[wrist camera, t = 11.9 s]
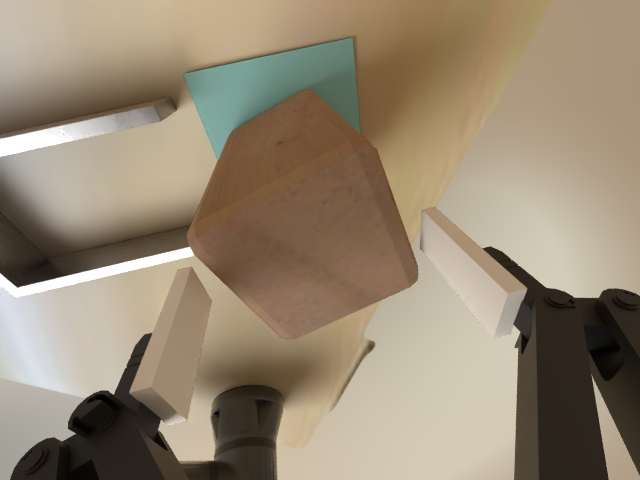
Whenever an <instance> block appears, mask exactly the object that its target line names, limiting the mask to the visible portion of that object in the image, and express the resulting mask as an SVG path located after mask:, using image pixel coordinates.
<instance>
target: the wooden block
mask: <svg viewBox="0 0 640 480" xmlns="http://www.w3.org/2000/svg"><path fill="white" fill-rule="evenodd" d="M187 240H188V244H189V246H190V248H191V250H192V251H193V253H194V255H195V256H196V257H197V258H199V259H200V260H201V261H202V262H203V263H204V264H205V265H206V266H207V267H208V268H209V269H210V270H211V271H212V272H213V273H214V274H215V275H216V276H217V277H218V278H219V279H220V280H221V281H222V282H223V283H224V284H226V285H227V286H228V287H229V288H230V289H231V290H232V291H233V292H234V293H235V294H236V295H237V296H238V297H239V298H240V299H241V300H242V301H243V302H244V303H245V304H246V305H247V306H248V307H249V308H250V309H252V310H253V311H254V312H255V313H256V314H257V315H258V316H259V317H260V318H261V319H262V320H263V321H264V322H265V323H266V324H267V325H268V326H269V327H270V328H271V329H272V330H273V331H274V332H275V333H276V334H278V335H279V336H280V337H281V338H284V339H296V338H298V337H300V336H302V335H305V334H307V333H309V332H311V331H314V330H316V329H318V328H320V327H322V326H325V325H327V324H329V323H331V322H334V321H336V320H338V319H340V318H342V317H345V316H347V315H349V314H351V313H354V312H356V311H358V310H360V309H362V308H365V307H367V306H369V305H371V304H374V303H376V302H378V301H380V300H383V299H385V298H387V297H389V296H391V295H394V294H396V293H398V292H400V291H402V290H405V289H407V288H409V287H411V286H412V285H413V284H414V283H415V282H416V281H417V280H418V265H417V262H416V260H415V257H414V254H413V251H412V248H411V245H410V243H409V240H408V237H407V234H406V231H405V228H404V225H403V223H402V220H401V217H400V214H399V211H398V208H397V206H396V203H395V200H394V197H393V194H392V191H391V188H390V186H389V183H388V180H387V177H386V174H385V171H384V169H383V166H382V163H381V160H380V157H379V154H378V152H377V149H376V148H375V147H373V146H372V145H371V144H370V143H369V142H368V141H367V140H366V139H365V138H364V137H363V136H362V135H361V134H360V133H359V132H358V131H356V130H355V129H354V128H353V127H352V126H351V125H350V124H349V123H348V122H346V121H345V120H344V119H343V118H342V117H341V116H340V115H339V114H338V113H336V112H335V111H334V110H333V109H332V108H331V107H330V106H329V105H328V104H326V103H325V102H324V101H323V100H322V99H321V98H320V97H319V96H317V95H316V94H315V93H314V92H313V91H312V90H311V89H305V90H301V91H299V92H298V93H296V94H294V95H293V96H291V97H289V98H287V99H286V100H284V101H282V102H281V103H279V104H277V105H275V106H274V107H272V108H270V109H269V110H267V111H265V112H263V113H262V114H260V115H258V116H257V117H255V118H253V119H251V120H250V121H248V122H246V123H244V124H243V125H241V126H239V127H238V128H236V129H234V130H232V132H231V133H230V135H229V136H228V138H227V140H226V143H225V145H224V147H223V150H222V152H221V154H220V157H219V159H218V162H217V164H216V166H215V169H214V171H213V173H212V176H211V178H210V181H209V183H208V185H207V188H206V190H205V192H204V195H203V197H202V200H201V202H200V204H199V207H198V209H197V211H196V214H195V216H194V219H193V221H192V223H191V226H190V228H189V230H188V233H187Z"/></svg>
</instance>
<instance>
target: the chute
mask: <svg viewBox="0 0 640 480" xmlns="http://www.w3.org/2000/svg"><path fill="white" fill-rule="evenodd" d="M175 111H176V108H175V106H174V104H173V101H172V99H171V97H168V98H163V99H158V100H154V101H149V102H145V103H140V104H135V105H131V106H126V107H122V108H117V109H112V110H108V111H103V112H99V113H94V114H89V115H85V116H80V117H76V118H71V119H66V120H62V121H57V122H53V123H48V124H43V125H39V126H34V127H30V128H25V129H20V130H16V131H11V132H7V133H2V134H0V157H1V156H5V155H10V154H15V153H19V152H24V151H28V150H33V149H37V148H42V147H46V146H51V145H55V144H60V143H64V142H69V141H74V140H78V139H83V138H87V137H92V136H96V135H101V134H105V133H110V132H114V131H119V130H124V129H128V128H133V127H137V126H142V125H146V124H151V123H155V122H160V121H162V120H163V119H165V118H166V117H168V116H169V115H171V114H172V113H173V112H175ZM190 226H191V225H190ZM190 226H186V227H182V228H177V229H173V230H169V231H164V232H160V233H156V234H152V235H147V236H143V237H139V238H134V239H130V240H126V241H122V242H117V243H113V244H109V245H104V246H100V247H96V248H92V249H87V250H83V251H79V252H74V253H70V254H66V255H62V256H57V257H53V258H49V259H47V258H46V257H45V256H44V255H43V254H42V253H41V252H40V251H39V250H38V249H37V248H36V247H35V246H34V245H33V244H32V243H31V242H30V241H29V240H28V239H27V238H26V237H25V236H24V235H23V234H22V233H21V232H20V231H19V230H18V229H17V228H16V227H15V226H14V225H13V224H12V223H11V222H10V221H9V220H8V219H7V218H6V217H5V216H4V215H3V214H2V213H1V212H0V286H1V287H2V288H3V289H5V290H6V291H7V292H8V293H10V294H11V295H12V296H13V297H15V298H17V297H21V296H25V295H29V294H34V293H38V292H42V291H46V290H51V289H55V288H59V287H63V286H67V285H72V284H76V283H80V282H84V281H89V280H93V279H97V278H101V277H105V276H110V275H114V274H118V273H122V272H126V271H131V270H135V269H139V268H143V267H148V266H152V265H156V264H160V263H164V262H169V261H173V260H177V259H181V258H186V257H190V256H194V253H193V251H192V250H191V248H190V246H189V244H188V240H187V233H188V230H189V228H190Z"/></svg>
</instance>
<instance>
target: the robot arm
mask: <svg viewBox="0 0 640 480" xmlns="http://www.w3.org/2000/svg"><path fill="white" fill-rule="evenodd" d="M420 249H421V250H422V251H423V252H424V253H425V255H426V256H427V257H428V258H429V260H430V261H431V262H432V264H433V265H434V266H435V267H436V268H437V270H438V271H439V272H440V273H441V275H442V276H443V277H444V278H445V280H447V282H448V283H449V284H450V286H451V287H452V288H453V289H454V291H455V292H456V293H457V294H458V295H459V297H460V298H461V299H462V300H463V301H464V303H465V304H466V305H467V307H468V308H469V309H470V310H471V311H472V313H473V314H474V315H475V316H476V317H477V319H478V320H479V321H480V322H481V324H482V325H483V326H484V327H485V329H486V330H487V331H488V332H489V334H490V335H491V336H492V337H493V338H496V337H500V336H504V335H508V334H511V331H512V328H513V325H515V327H516V328H517V329H518V330H519V331H520V335H519V337H518V340H517V342H516V345H515V348H519V349H518V350H519V351H518V380H517V410H516V412H517V413H516V443H515V473H514V480H608V473H607V467H606V461H605V455H604V449H603V443H602V437H601V431H600V424H599V418H598V412H597V406H596V400H595V394H594V388H593V382H592V376H593V378H594V381H595V382H596V385H597V387H598V389H599V391H600V393H601V395H602V397H603V399H604V402H605V404H606V405H607V408H608V410H609V412H610V414H611V416H612V418H613V420H614V422H615V424H616V427H617V429H618V431H619V432H620V435H621V437H622V439H623V441H624V443H625V445H626V448H627V450H628V451H629V454H630V456H631V458H632V460H633V462H634V464H635V466H636V468H637V471H638V473H639V475H640V296H639V295H637V294H636V293H632V292H630V291H627V290H622V289H607V290H604V291H603V292H602V293H601V295H600V297H599V298H574V297H573V296H571V295H569V294H568V293H566V292H563V291H560V290H557V289H550V288H546V287H544V286H543V285H542V284H541V283H540V282H538V281H537V280H536V279H535V278H533V277H532V276H531V275H530V274H528V273H527V272H526V271H525V270H524V269H522V268H521V267H520V266H518V264H516V263H515V262H514V261H513V260H511V259H510V258H509V257H508V256H507V255H505V254H504V253H503V252H502V251H499V250H497V249H495V248H492V247H486V248H481V247H480V246H479V245H477V244H476V243H475V242H474V241H473V240H472V239H471V238H470V237H468V236H467V235H466V234H465V233H464V232H463V231H461V230H460V229H459V228H458V227H457V226H456V225H455V224H453V222H451V221H450V220H449V219H448V218H447V217H446V216H445V215H443V214H442V213H441V212H440V211H439V210H438V209H437V208H436V207H432V208H428V209H424V210H422V219H421V240H420ZM211 302H212V300H211V298H210V297H209V295H208V293H207V291H206V290H205V288H204V286H203V285H202V283H201V281H200V280H199V278H198V276H197V275H196V273H195V271H194V270H193V268H192V267H187V268H183V269H179V270H177V273H176V275H175V278H174V281H173V283H172V286H171V288H170V291H169V293H168V296H167V298H166V301H165V303H164V306H163V308H162V311H161V313H160V316H159V318H158V321H157V323H156V326H155V328H154V331H153V333H150V334H146V335H144V336H143V337H142V338H141V339H140V341H139V342H138V343H137V344H136V346H135V348H134V350H133V352H132V355H131V359H129V361H128V364H127V368H125V370H124V373H123V375H122V377H121V380H120V382H119V384H118V386H117V389H116V391H115V393H114V395H113V394H111V393H110V392H109V391H99V392H96V393H94V394H92V395H90V396H89V397H87V398H86V399H85V400H84V401H83V402H82V403H80V404H79V405H78V406H77V408H76V409H75V410H74V412H73V413H72V415H71V417H70V419H69V421H68V429H69V430H71V431H73V432H75V433H76V434H75V435H73V436H71V437H70V438H68V439H66V440H64V441H60V440H58V439H56V438H47V439H45V440H43V441H41V442H39V443H37V444H36V445H35V446H34V447H32V448H31V449H30V450H29V451H28V452H27V453H26V454H25V455H24V456H23V457H22V458H21V459H20V461H19V462H18V464H17V465H16V467H15V468H14V471H13V473H12V476H11V479H10V480H277V457H276V438H277V434H278V430H279V426H280V422H281V418H282V414H283V398H282V396H281V394H280V393H279V392H277V391H276V390H274V389H271V388H268V387H262V386H247V387H240V388H236V389H232V390H229V391H227V392H225V393H223V394H221V395H220V396H218V397H217V398H216V399H215V400H214V402H213V404H212V409H211V424H212V430H213V436H214V442H215V455H214V461H178V460H177V458H176V457H175V455H174V453H173V451H172V450H171V448H170V446H169V445H168V443H167V441H166V440H165V438H164V436H163V435H162V433H161V432H160V431H158V427H159V424H160V420H162V421H163V422H164V423H165V424H167V425H168V426H169V425H172V424H176V423H180V422H184V421H187V418H188V413H189V408H190V403H191V398H192V394H193V389H194V384H195V379H196V374H197V370H198V365H199V360H200V355H201V350H202V346H203V341H204V336H205V331H206V326H207V322H208V317H209V312H210V307H211ZM518 346H519V347H518ZM591 374H592V375H591Z"/></svg>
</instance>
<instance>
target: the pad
mask: <svg viewBox="0 0 640 480" xmlns="http://www.w3.org/2000/svg"><path fill="white" fill-rule="evenodd" d="M183 76H184V79H185V81H186V84H187V86H188V89H189V91H190V94H191V96H192V98H193V101H194V103H195V106H196V108H197V111H198V113H199V116H200V118H201V121H202V123H203V126H204V128H205V131H206V133H207V136H208V138H209V141H210V143H211V145H212V148H213V150H214V153H215V155H216V158H217V160H218V159H219V157H220V154H221V152H222V150H223V147H224V145H225V143H226V140H227V138H228V136H229V135H230V133H231V132H232V130H234V129H236V128H238V127H239V126H241V125H243V124H244V123H246V122H248V121H250V120H251V119H253V118H255V117H257V116H258V115H260V114H262V113H263V112H265V111H267V110H269V109H270V108H272V107H274V106H275V105H277V104H279V103H281V102H282V101H284V100H286V99H287V98H289V97H291V96H293V95H294V94H296V93H298V92H299V91H301V90H305V89H311V90H312V91H313V92H314V93H315V94H316V95H317V96H319V97H320V98H321V99H322V100H323V101H324V102H325V103H326V104H328V105H329V106H330V107H331V108H332V109H333V110H334V111H335V112H336V113H338V114H339V115H340V116H341V117H342V118H343V119H344V120H345V121H346V122H348V123H349V124H350V125H351V126H352V127H353V128H354V129H355V130H356V131H358V132H359V133H360V121H359V109H358V97H357V84H356V72H355V60H354V47H353V38H348V39H343V40H339V41H334V42H329V43H325V44H320V45H315V46H311V47H306V48H301V49H297V50H292V51H287V52H283V53H278V54H273V55H269V56H264V57H259V58H255V59H250V60H245V61H241V62H236V63H232V64H227V65H222V66H218V67H213V68H208V69H204V70H199V71H194V72H190V73H185V74H183Z"/></svg>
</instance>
